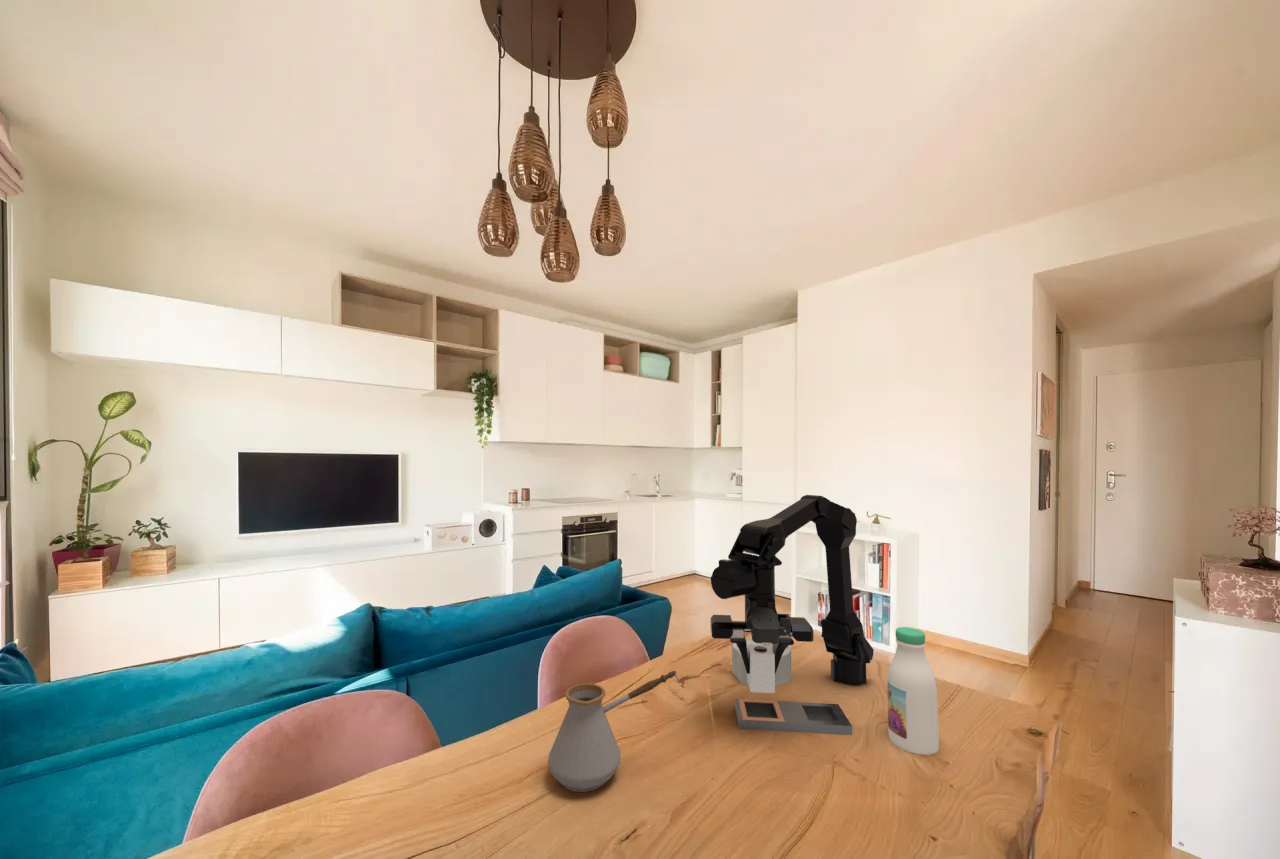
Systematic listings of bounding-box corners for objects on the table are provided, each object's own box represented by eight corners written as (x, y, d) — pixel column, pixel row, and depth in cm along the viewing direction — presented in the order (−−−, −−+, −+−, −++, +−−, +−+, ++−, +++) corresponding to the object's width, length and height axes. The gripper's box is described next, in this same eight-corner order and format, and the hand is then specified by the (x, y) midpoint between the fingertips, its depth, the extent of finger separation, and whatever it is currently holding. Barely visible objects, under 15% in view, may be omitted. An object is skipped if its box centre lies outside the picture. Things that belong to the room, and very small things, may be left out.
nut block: (770, 682, 95) (770, 644, 96) (775, 693, 91) (774, 653, 91) (747, 681, 96) (747, 643, 96) (750, 692, 91) (750, 652, 92)
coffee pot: (548, 805, 71) (549, 698, 72) (547, 758, 82) (548, 666, 83) (689, 787, 75) (689, 686, 76) (670, 744, 86) (670, 656, 87)
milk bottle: (936, 741, 88) (932, 627, 89) (942, 765, 81) (938, 641, 82) (887, 731, 91) (885, 620, 92) (889, 753, 84) (886, 634, 85)
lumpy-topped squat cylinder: (728, 672, 115) (728, 635, 116) (779, 669, 118) (779, 632, 118) (745, 693, 105) (745, 652, 106) (801, 688, 108) (800, 648, 108)
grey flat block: (838, 717, 96) (838, 703, 96) (852, 740, 88) (852, 725, 88) (734, 711, 97) (734, 698, 98) (739, 734, 89) (738, 719, 90)
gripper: (713, 601, 87) (713, 691, 86) (820, 604, 86) (822, 696, 85) (710, 585, 98) (710, 664, 98) (805, 587, 97) (806, 668, 96)
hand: (760, 673), depth 94 cm, fingers closed on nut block, 4 cm apart
